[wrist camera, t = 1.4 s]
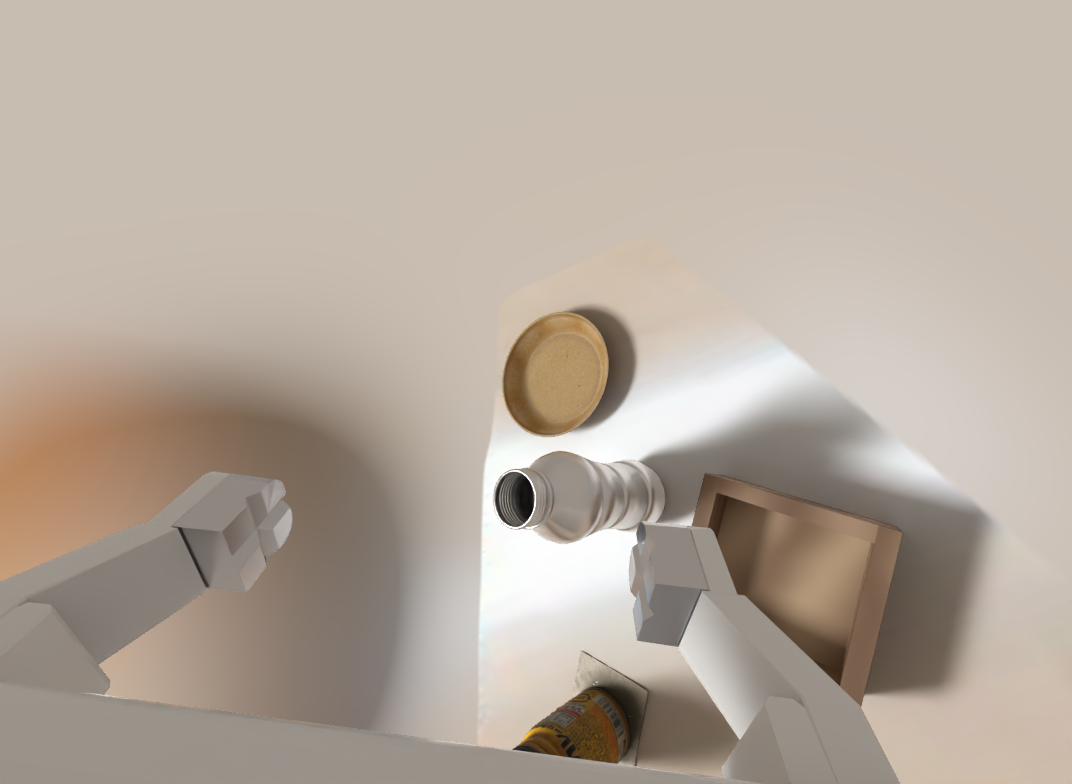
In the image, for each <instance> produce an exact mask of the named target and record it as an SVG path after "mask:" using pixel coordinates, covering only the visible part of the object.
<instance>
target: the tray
mask: <svg viewBox="0 0 1072 784" xmlns="http://www.w3.org/2000/svg"><path fill="white" fill-rule="evenodd" d="M692 526H694V527H703V528H711V530H712V531H713V532H714V534H715V536H716V539H717V542H718V544H719V547H720V550H721V552H722V555H723V557H724V560H725V563H726V565H727V568H728V571H729V573H730V576H731V579H732V581H733V584H734V587H735V589H736V592H737V595H744V596H746V597H747V598H748V599H749V600H750V601H751V602H752V603H753V604H754V605H755V606H756V607H757V608H758V609H759V610H760V611H762V612H763V613H764V614H765V615H766V616H767V617H768V618H769V619H770V620H771V621H772V622H773V623H774V624H775V625H776V626H777V627H778V628H779V629H780V630H781V631H782V632H783V633H784V634H786V635H787V636H788V637H789V638H790V639H791V640H792V641H793V642H794V643H795V644H796V645H797V646H798V647H799V648H800V649H801V650H802V651H803V652H804V653H805V654H806V655H807V656H809V657H810V658H811V659H812V660H813V661H814V662H815V663H816V664H817V665H818V666H819V667H820V668H821V669H822V670H823V671H824V672H825V673H826V674H827V675H828V676H829V677H830V678H832V679H833V680H834V681H835V682H836V683H837V684H838V685H839V686H840V687H841V688H842V689H843V690H844V691H845V692H846V693H847V694H848V695H849V696H850V697H851V698H852V699H853V700H855V701H856V702H857V703H858V704H859V705H860V707H861V705H862V701H863V697H864V693H865V689H866V684H867V680H868V676H869V672H870V668H871V663H872V659H873V655H874V651H875V647H876V643H877V638H878V634H879V630H880V626H881V622H882V617H883V613H884V609H885V605H886V601H887V597H888V592H889V588H890V584H891V580H892V576H893V571H894V567H895V563H896V559H897V555H898V551H899V546H900V542H901V538H902V534H903V533H902V532H901V531H900V530H899V529H898V528H897V527H895V526H892V525H889V524H885V523H882V522H878V521H875V520H872V519H868V518H865V517H861V516H858V515H855V514H851V513H848V512H845V511H841V510H838V509H834V508H831V507H828V506H824V505H821V504H818V503H814V502H811V501H807V500H804V499H801V498H797V497H794V496H791V495H787V494H784V493H780V492H777V491H774V490H770V489H767V488H763V487H760V486H757V485H753V484H750V483H747V482H743V481H740V480H736V479H733V478H730V477H726V476H723V475H718V474H707V473H705V475H704V479H703V483H702V487H701V491H700V495H699V499H698V503H697V507H696V511H695V515H694V519H693V523H692Z"/></svg>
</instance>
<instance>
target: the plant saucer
mask: <svg viewBox="0 0 1072 784" xmlns="http://www.w3.org/2000/svg"><path fill="white" fill-rule="evenodd" d="M608 372H609V359H608V352H607V348H606V344H605V341H604V339H603V337H602V335H601V333H600V332H599V330H598V329H597V328H596V326H595V325H594V324H593V323H592V322H591V321H589V320H588V319H586V318H585V317H583V316H581V315H579V314H575V313H570V312H556V313H551V314H548V315H545V316H543V317H541V318H539V319H537V320H536V321H534V322H533V323H532V324H530V325H529V326H528V327H527V328H526V329H525V330H524V331H523V332H522V333H521V334H520V336H519V337H518V338H517V339H516V341H515V342H514V344H513V346H512V347H511V349H510V352H509V354H508V356H507V359H506V362H505V366H504V370H503V377H502V390H503V397H504V401H505V405H506V407H507V410H508V412H509V414H510V416H511V417H512V419H513V420H514V421H515V422H516V424H517V425H518V426H520V427H521V428H522V429H523V430H525V431H526V432H529V433H530V434H533V435H536V436H540V437H554V436H559V435H563V434H565V433H568V432H570V431H572V430H574V429H575V428H577V427H578V426H580V425H581V424H582V423H583V422H584V421H585V420H587V418H588V417H589V416H590V415H591V414H592V413H593V411H594V410H595V408H596V407H597V405H598V403H599V402H600V400H601V398H602V395H603V393H604V390H605V387H606V383H607V379H608Z"/></svg>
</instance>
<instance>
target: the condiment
mask: <svg viewBox="0 0 1072 784" xmlns="http://www.w3.org/2000/svg"><path fill="white" fill-rule="evenodd" d="M596 681H598V683H595V682H596ZM593 683H594V684H595V685H592V684H593ZM647 694H648V691H646V690H645V689H643V688H641V687H640V686H639V685H638V684H636V683H634V682H633V681H631V680H629V679H628V678H626V677H624V676H623V675H621V674H620V673H618V672H616V671H615V670H613V669H611V668H610V667H608V666H607V665H605V664H602V663H601V662H599V661H597V660H596V659H594V658H593V657H591V656H589V655H587V654H585V653H584V652H582V651H581V655H580V659H579V665H578V669H577V675H576V680H575V685H574V691H573V697H572V699H571V700H569V701H568V702H567V703H565V704H564V705H563V706H561V707H559V708H557V709H556V711H555V712H552V713H551V714H550V715H549V716H547V717H546V718H545V719H543V720H542V721H540V722H539V723H538V724H537V725H535V726H534V727H533V728H531V730H530V731H529V732H528V733H527V734H526V736H525V738H524V740H523V741H522V742H521V743H520V744H519V746H517V747H516V748H514V749H512V750H518V751H525V752H532V753H540V754H547V755H555V756H562V757H570V758H577V759H585V760H592V761H599V762H607V763H614V764H622V765H629V766H635V760H636V756H637V750H638V745H639V738H640V731H641V727H642V722H643V717H644V711H645V704H646V699H647ZM629 716H630V717H629Z"/></svg>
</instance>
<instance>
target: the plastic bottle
mask: <svg viewBox="0 0 1072 784" xmlns="http://www.w3.org/2000/svg"><path fill="white" fill-rule="evenodd" d="M493 503H494V509H495V512H496V515H497V516H498V518H499V520H500V521H501V522H502V523H503V524H504V525H505V526H507V527H508V528H511V529H533V530H534V532H536V533H537V534H538V535H539V536H541V537H543V538H544V539H547V540H549V541H552V542H555V543H559V544H567V543H571V542H575V541H578V540H581V539H583V538H585V537H587V536H589V535H591V534H593V533H595V532H597V531H601V530H604V529H617V530H620V531H625V532H637V529H638V526H639V524H640V522H641V521H645V522H656V521H657V520H658V519H659V518H660V516H661V514H662V512H663V510H664V506H665V490H664V487H663V484H662V482H661V480H660V478H659V477H658V476H657V474H656V473H655V472H654V471H653V470H652V469H651V468H649V467H647V466H646V465H644V464H642V463H640V462H638V461H635V460H622V461H616V462H614V463H608V464H602V463H598V462H593V461H590V460H588V459H586V458H583V457H581V456H579V455H576V454H573V453H569V452H564V451H556V452H552V453H549V454H547V455H544V456H542V457H540V458H538V459H537V460H535V461H534V462H533V463H532V465H531V466H530V467H529V468H523V469H513V470H509V471H507V472H505V473H504V474H503V475H502V476H501V477H500V478H499V480H498V481H497V483H496V486H495V489H494V495H493Z"/></svg>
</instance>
